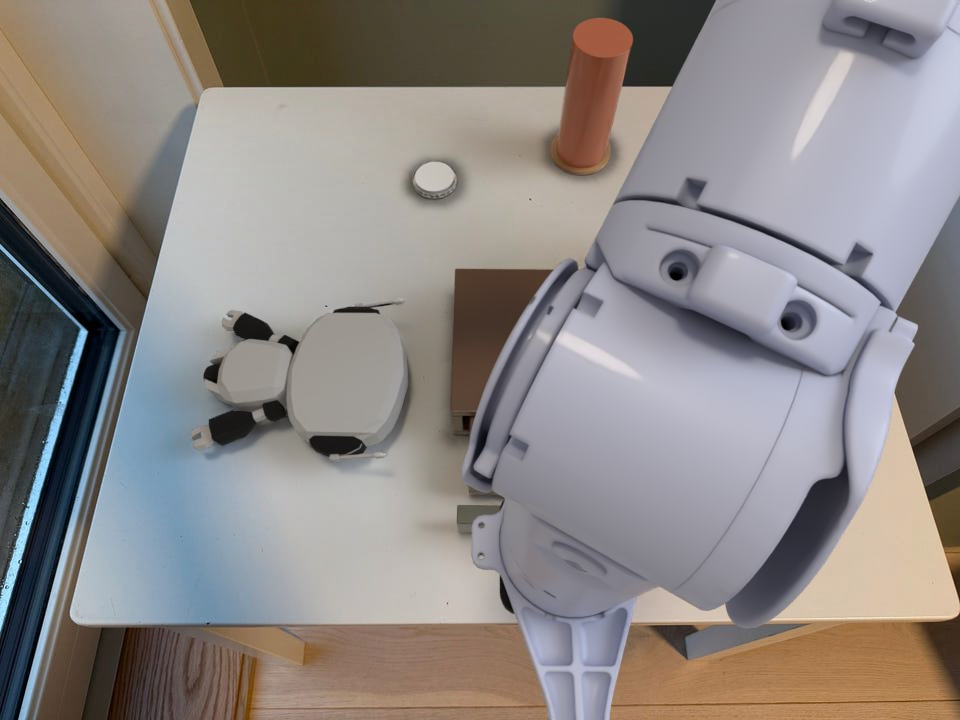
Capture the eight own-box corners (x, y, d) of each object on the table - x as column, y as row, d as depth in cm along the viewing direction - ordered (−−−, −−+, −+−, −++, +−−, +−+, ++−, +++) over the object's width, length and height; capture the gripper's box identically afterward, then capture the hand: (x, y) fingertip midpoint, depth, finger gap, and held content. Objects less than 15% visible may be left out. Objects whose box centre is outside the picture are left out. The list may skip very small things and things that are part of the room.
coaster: (616, 138, 59) (616, 135, 58) (602, 181, 56) (603, 178, 56) (559, 125, 59) (559, 121, 59) (543, 166, 57) (543, 163, 57)
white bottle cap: (412, 198, 55) (411, 193, 55) (413, 164, 57) (413, 159, 56) (456, 198, 55) (456, 193, 55) (456, 164, 57) (456, 159, 56)
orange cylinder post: (610, 138, 58) (638, 24, 48) (599, 173, 56) (625, 62, 46) (563, 126, 59) (581, 12, 48) (550, 161, 57) (566, 49, 47)
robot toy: (202, 468, 45) (404, 474, 44) (170, 448, 41) (391, 454, 40) (239, 322, 51) (420, 324, 49) (214, 292, 47) (410, 293, 45)
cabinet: (610, 436, 45) (623, 413, 41) (452, 434, 45) (450, 411, 41) (598, 301, 51) (609, 269, 46) (457, 300, 51) (455, 268, 47)
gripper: (473, 330, 24) (475, 442, 36) (465, 770, 18) (471, 728, 30) (652, 332, 24) (595, 443, 36) (710, 773, 18) (616, 730, 30)
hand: (547, 572), depth 33 cm, fingers closed
